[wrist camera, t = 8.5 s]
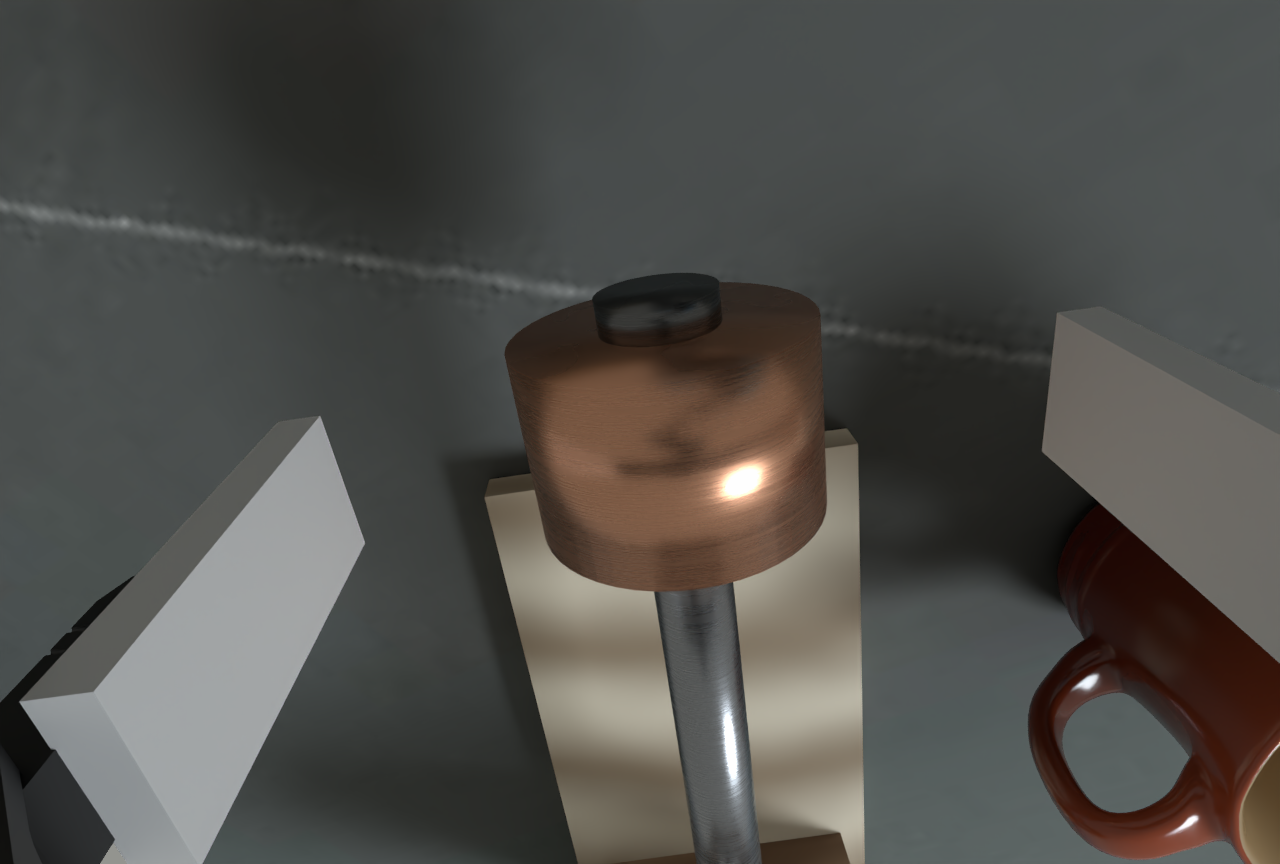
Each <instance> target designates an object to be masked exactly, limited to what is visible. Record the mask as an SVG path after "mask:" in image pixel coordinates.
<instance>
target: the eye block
mask: <svg viewBox="0 0 1280 864" xmlns="http://www.w3.org/2000/svg"><path fill="white" fill-rule="evenodd" d="M760 850H761V860H762V864H850V861H849V858H848V855H847V852H846V849H845V846H844V843H843V840H842V836H841V833H833V834H826V835H818V836H811V837H804V838H796V839H789V840H782V841H774V842H767V843H760ZM613 864H696V857H695V852H694V853H686V854H679V855H672V856H664V857H657V858H649V859H642V860H635V861H627V862H620V863H613Z"/></svg>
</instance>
